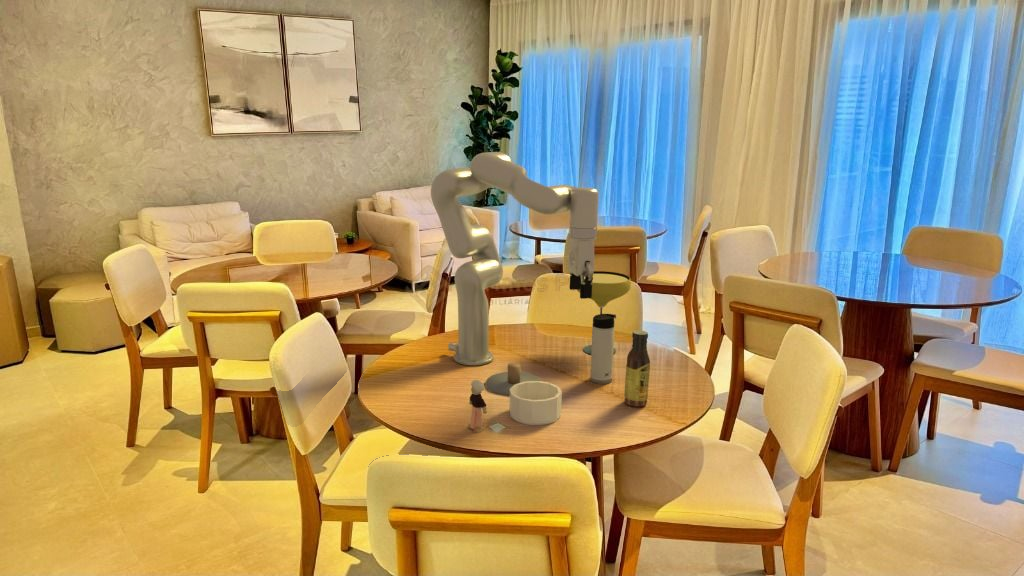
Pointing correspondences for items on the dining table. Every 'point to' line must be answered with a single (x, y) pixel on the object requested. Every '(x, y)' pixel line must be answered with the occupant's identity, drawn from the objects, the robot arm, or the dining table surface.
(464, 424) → the dining table surface
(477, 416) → the grandmother figurine
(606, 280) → the cocktail glass
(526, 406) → the bowl
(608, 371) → the travel mug
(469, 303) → the robot arm
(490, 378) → the lid
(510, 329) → the dining table surface
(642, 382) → the sauce bottle
